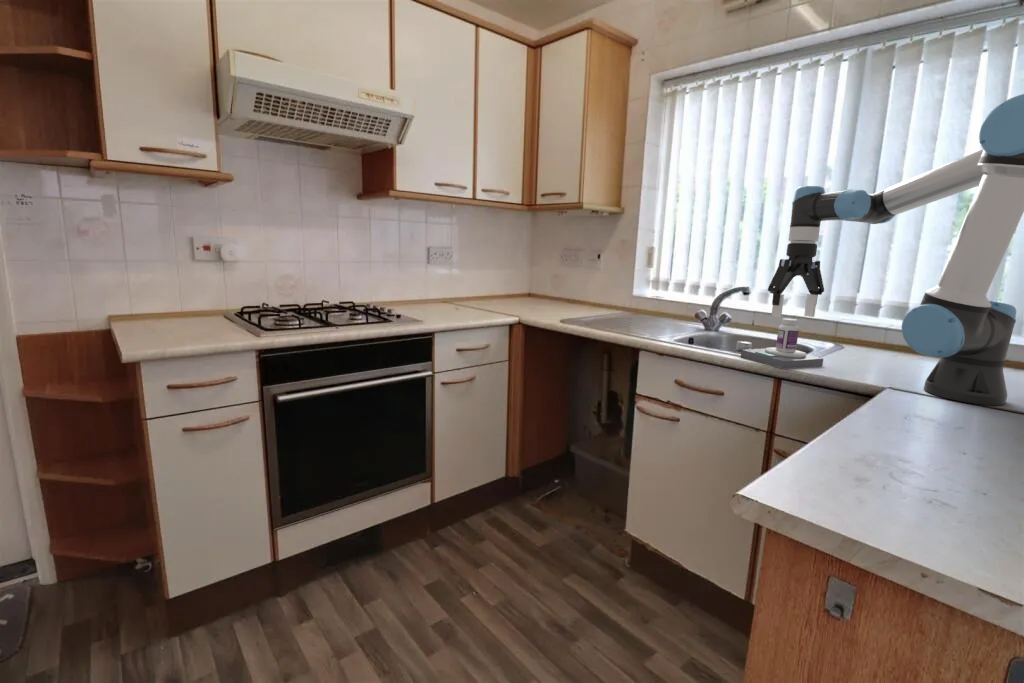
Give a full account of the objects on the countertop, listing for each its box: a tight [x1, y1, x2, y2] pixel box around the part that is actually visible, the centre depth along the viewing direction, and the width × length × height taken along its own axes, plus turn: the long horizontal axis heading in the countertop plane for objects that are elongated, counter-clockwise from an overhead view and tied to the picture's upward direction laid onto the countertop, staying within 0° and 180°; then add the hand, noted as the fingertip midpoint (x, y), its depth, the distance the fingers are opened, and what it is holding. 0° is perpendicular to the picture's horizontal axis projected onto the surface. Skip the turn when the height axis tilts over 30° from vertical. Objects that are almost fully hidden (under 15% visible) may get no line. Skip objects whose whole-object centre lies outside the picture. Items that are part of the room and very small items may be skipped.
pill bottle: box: [775, 317, 800, 353], centre depth 154 cm, size 5×5×10 cm
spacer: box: [735, 340, 753, 353], centre depth 167 cm, size 4×4×3 cm
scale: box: [740, 346, 824, 370], centre depth 155 cm, size 16×15×3 cm
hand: (793, 316), depth 152 cm, fingers open, 13 cm apart
